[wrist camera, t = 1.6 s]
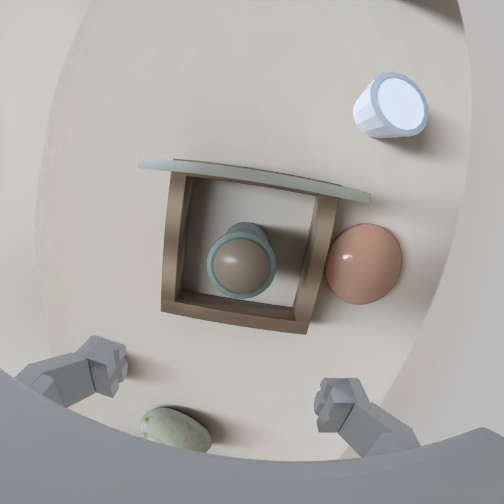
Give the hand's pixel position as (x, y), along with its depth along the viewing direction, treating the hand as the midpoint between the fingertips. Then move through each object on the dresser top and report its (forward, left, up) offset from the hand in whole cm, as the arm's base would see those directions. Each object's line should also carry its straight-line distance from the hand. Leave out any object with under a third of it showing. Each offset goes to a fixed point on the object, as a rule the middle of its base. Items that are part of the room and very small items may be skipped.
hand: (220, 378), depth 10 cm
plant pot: (0, 0, -22) cm, 22 cm away
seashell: (+33, -7, -22) cm, 41 cm away
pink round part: (0, +14, -22) cm, 26 cm away
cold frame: (0, 0, -22) cm, 22 cm away
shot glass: (-18, +12, -22) cm, 31 cm away
